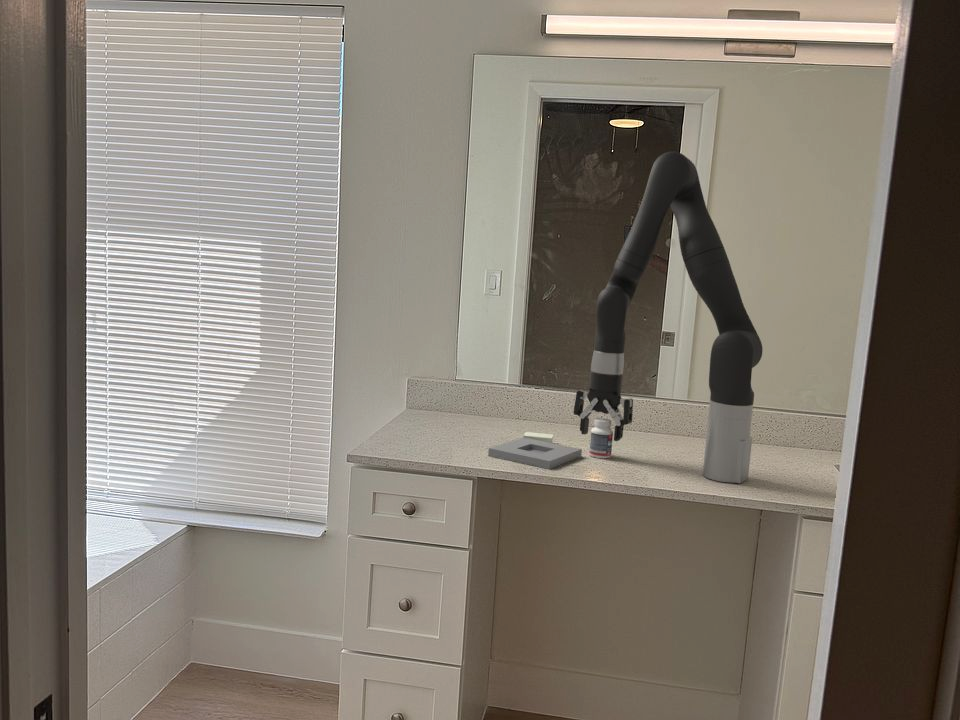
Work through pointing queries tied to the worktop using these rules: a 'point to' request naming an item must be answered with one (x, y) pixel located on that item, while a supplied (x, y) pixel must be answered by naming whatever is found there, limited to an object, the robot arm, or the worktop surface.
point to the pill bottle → (601, 439)
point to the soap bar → (539, 436)
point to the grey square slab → (535, 452)
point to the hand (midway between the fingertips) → (600, 437)
